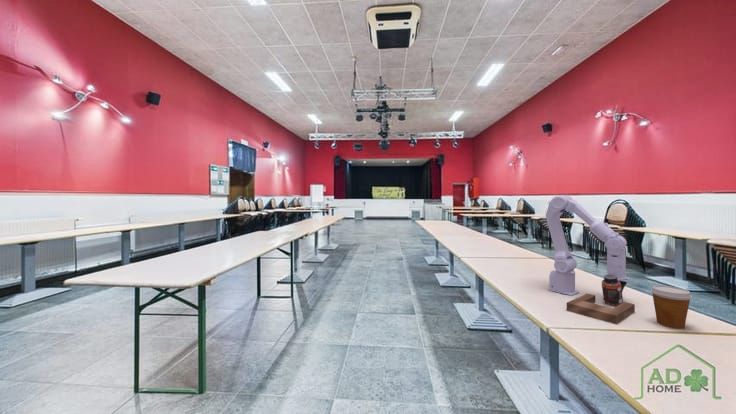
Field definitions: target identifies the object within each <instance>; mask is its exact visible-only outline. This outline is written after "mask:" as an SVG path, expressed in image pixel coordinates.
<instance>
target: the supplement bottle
mask: <svg viewBox="0 0 736 414" xmlns="http://www.w3.org/2000/svg"><path fill="white" fill-rule="evenodd" d="M612 282H613V283H612ZM601 288H602V289H601V290H602V297H603V302H604V303H606V304H607V305H610V306H618V305H620V304H621V303H623V302H624V298H623V291H622V287H621V283H620V281H618V279H617V276H615V275H612V274H607V273H606V274H604V276H603V279H602V280H601Z"/></svg>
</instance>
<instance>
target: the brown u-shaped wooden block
mask: <svg viewBox="0 0 736 414" xmlns="http://www.w3.org/2000/svg"><path fill="white" fill-rule="evenodd" d="M596 297H597V296H596V295H595V294H591V293H584V294H583V295H581V296H578V297H576V298H574V299H572V300H569V301H567V302H566V311H568V312H571V313H575V314H579V315H581V316H585V317H588V318H593V319H597V320H600V321H604V322H606V323H610V324H614V325H618V324H620V323H621V322H622V321H624V320H625V319H627V318H628V317H630V316H631V315H633V314H635V312H636V308H635V307H636V305H635V303H631V302H626V301H623V303H621V304H620V305H615V307H610V306H605V305H601V304H597V303H596V302H597V301H596Z"/></svg>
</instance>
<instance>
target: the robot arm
mask: <svg viewBox="0 0 736 414" xmlns="http://www.w3.org/2000/svg"><path fill="white" fill-rule="evenodd" d="M565 211H566V212H570V213H573V214H575V215H576V216H577V217H579V218H580V219H581V220H582V221H583V222H585V223H586V224H587V225H588V226H589V231H590V232H591V233H592V234H594V235H595V236H596V238H598V239H599V240H600V241H601V242H603V243H604V246H605V248H606V250H607V253H606V271H607V272H606V275H607V274H612V275H615V276H617V279H618V281H620V283H621V287H622V292H624V289H625V287H626V285H627V284H628V282H627V281H630V280H631V278H630V277H627V271H626V270H627V269H626V268H627V266H626V263H627V261H626V260H627V259H626V257H627V256H626V249H625V248H626V247H627V244H628V243H627V240H626V238H625V237H624V236H623V235H620V233H619V232H615V231H614V230H613V229H612V227H610V224H609V223H608V222H604V221H603V220H599V221H598V220H597V219H596V218H594V217H593V215H591V214H590V213H589V212H588V211H587V210H586V209H585V208H584V207H583V206H582V205H581V204H580V203H578V201H577V200H575V199H573V198H572V197H571V196H569V195H555V196H554V197H552V198H551V199H550V201H549V202H548V206H547V209H546V211H545V212H546V213H545V218H546V221H547V226H548V230H549V233H550V236H551V241H552V244H553V248H554V252H555V253H554V257H553V258H554V263H553V267H554V270H551V271H550V273H549V276H548V277H549V279H548V280H549V281H548V282H549V283H548V285H549V288H548V290H549V291H552V292H556V293H558V294H563V295H568V296H574V295H576V294H578V293H580V290H577V289H576V272H575V269H576V268H577V261H576V259H574V257H573V254H572V253H571V251H569V247H568V244H567V240H566V237H565V232H564V229H563V226H562V221H561V216H562V215H563V214H564V213H565ZM612 283H613V282H612Z"/></svg>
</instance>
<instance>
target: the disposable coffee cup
mask: <svg viewBox="0 0 736 414" xmlns="http://www.w3.org/2000/svg"><path fill="white" fill-rule="evenodd" d="M650 292H651V294H652V298H653V299H652V301H653V305H654V311H655V312H654V313H655V317H656V323H657V324H659V325H661V326H664V327H667V328H670V329H675V330H682V329H683V330H684V329H685V326H686V321H687V316H688V312H689V306H690V300H691V299H692V298H693V295H692V294H691V292H690V291H689V290H687V289H685V288H680V287H675V286H670V285H659V284H657V285H652V287H651V288H650Z"/></svg>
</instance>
